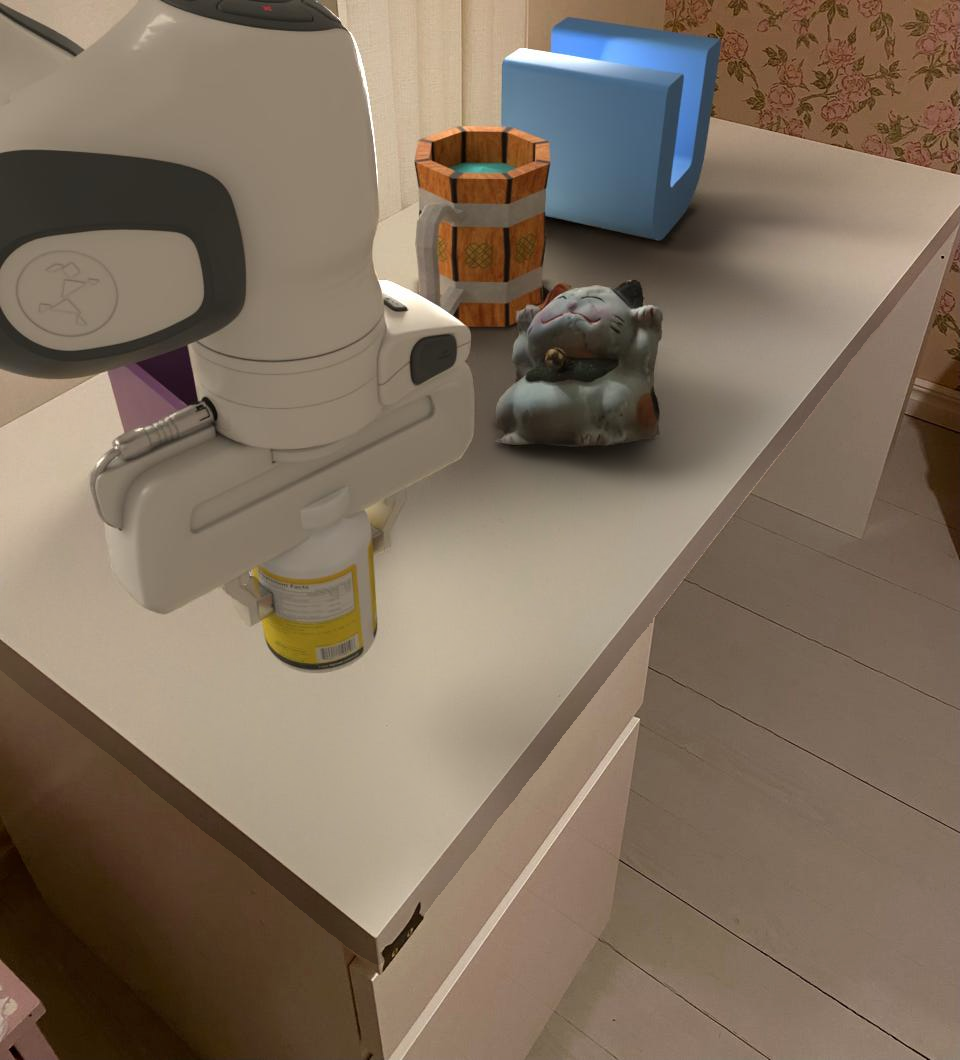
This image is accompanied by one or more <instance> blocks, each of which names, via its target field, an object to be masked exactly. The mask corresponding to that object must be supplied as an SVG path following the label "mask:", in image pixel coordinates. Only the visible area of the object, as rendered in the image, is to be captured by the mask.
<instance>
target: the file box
mask: <svg viewBox="0 0 960 1060" xmlns="http://www.w3.org/2000/svg"><path fill="white" fill-rule="evenodd" d="M107 375H108V378H109V382H110V385H111V389H112V392H113V393H112V394H113V397H114V400H115V404H116V409H117V411H118V415H119V418H120V421H121V426H122V429H123V433H125V432H127V431H129V430H132V429H134V428H138V427H141V428H142V427H144V426H147V425H150V424H152V423H154V422H156V421H158V420H160V419H162V418H163V417H165V416H167V415H168V414H170V413H172V412H174V411H177V410H179V409H181V408H184V407H186V406H188V405H191V404H193V403H195V402H198V397H197V391H196V386H195V381H194V375H193V370H192V366H191V361H190V355H189V350H188V345H186V346H183V347H181V348H178V349H175V350H172V351H170V352H167V353H164V354H161V355H158V356H155V357H152V358H149V359H146V360H143V361H139V362H136V363H133V364H130V365H126V366H123V367H120V368H116V369H113V370H110V371H107Z"/></svg>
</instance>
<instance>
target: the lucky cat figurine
mask: <svg viewBox="0 0 960 1060" xmlns="http://www.w3.org/2000/svg"><path fill="white" fill-rule="evenodd" d="M644 302H645V297H644V291H643V287H642V284H641V281H639V280H638V279H637V278H630V279H629V280H626V281H623V282H621V283H619V284H618V285H616V286H614V287H608V286H603V285H601V284H593V285H590V286H582V287H574V288H572V286H571V285H570V284H568V283H565V282H558V281H557V283H555V285H554V286H553V288H552V289H551V290H550V291H549V293H547V295H546V297H545V299H543V301H542V302H540V303H538V304H534V305H527V306H526V308H525V309H523V310H521V311H518V310H517V311H516V312H517V316H516V321H517V322H516V326H517V330H518V337H516V339H515V341H514V343H513V346H512V350H513V351H512V355H511V362H512V363H513V365H514V368H515V379H514V384H512V385H511V386H510V387H508V388H507V390H506V391H505V392H504V393H503V394H502V395H501V396H500V397H499V400H498V401H497V403H496V408H495V416H496V418H495V422H496V423H497V425H498V426H499V427H500V429H501V431H502V432H503V433H502V434H504V435H503V437H501V438H497V439H496V442H497V443H502V444H506V445H513V446H514V445H549V446H564V447H571V448H572V447H573V448H579V447H585V446H607V447H608V446H612V445H621V444H625V443H626V444H627V443H631V442H635V441H641V440H653V439H655V438H657V437H658V436H659V435H660V433H661V432H660V428H659V427H660V425H659V424H660V417H661V412H660V411H661V410H660V404H659V400H658V396H657V393H656V390H655V371H656V364H657V357H658V353H659V352H658V350H659V343H660V341H661V340H662V338H663V337H662V336H663V321H664V316H663V315H664V314H663V311H662V309H660V308H659V307H657V306H655V305H653V304H648V305H644Z"/></svg>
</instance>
